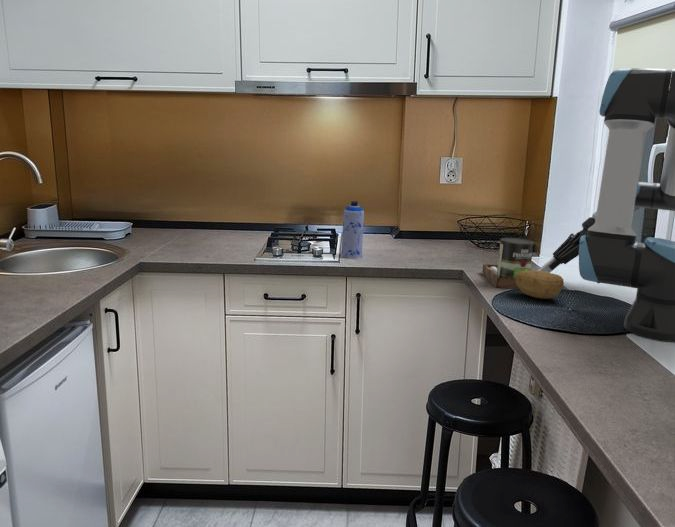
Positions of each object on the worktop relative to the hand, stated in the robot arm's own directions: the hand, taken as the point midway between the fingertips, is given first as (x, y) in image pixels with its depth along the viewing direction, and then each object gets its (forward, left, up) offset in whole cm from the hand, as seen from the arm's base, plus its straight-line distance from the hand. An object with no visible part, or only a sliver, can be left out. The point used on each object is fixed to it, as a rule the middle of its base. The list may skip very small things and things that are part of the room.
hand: (540, 274), depth 201 cm
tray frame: (+2, +9, -3) cm, 10 cm away
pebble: (+9, +13, -3) cm, 16 cm away
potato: (-16, +6, -4) cm, 18 cm away
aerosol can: (+28, +60, -4) cm, 66 cm away
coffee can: (-1, +9, -4) cm, 10 cm away
